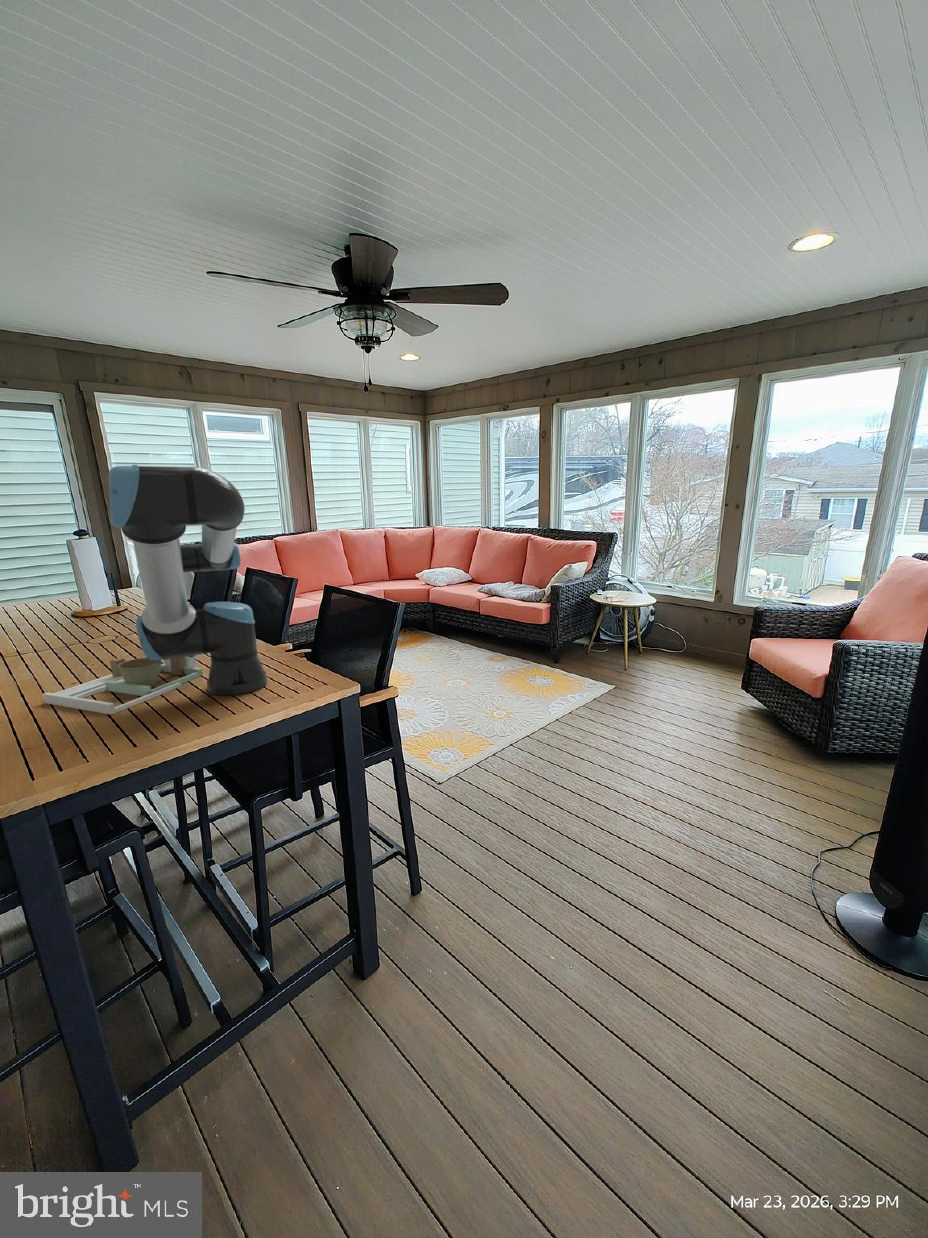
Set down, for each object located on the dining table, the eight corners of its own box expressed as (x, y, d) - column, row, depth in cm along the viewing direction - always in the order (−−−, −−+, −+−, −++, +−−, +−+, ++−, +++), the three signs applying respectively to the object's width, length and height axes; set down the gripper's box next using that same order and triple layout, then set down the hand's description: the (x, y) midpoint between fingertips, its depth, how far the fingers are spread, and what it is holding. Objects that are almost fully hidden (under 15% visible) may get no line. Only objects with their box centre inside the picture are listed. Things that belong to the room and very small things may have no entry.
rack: (181, 686, 140) (180, 677, 139) (111, 714, 122) (109, 704, 121) (114, 676, 148) (112, 668, 147) (39, 702, 130) (37, 693, 129)
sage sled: (205, 673, 150) (201, 641, 148) (147, 696, 132) (141, 660, 130) (167, 668, 155) (162, 637, 152) (106, 690, 137) (100, 655, 135)
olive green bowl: (144, 695, 133) (139, 669, 132) (113, 692, 136) (108, 667, 134) (173, 682, 143) (169, 658, 141) (143, 680, 145) (139, 656, 143)
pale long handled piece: (129, 678, 146) (126, 658, 145) (61, 702, 129) (57, 680, 128) (119, 677, 148) (116, 657, 146) (51, 700, 130) (46, 678, 129)
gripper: (208, 589, 145) (217, 665, 151) (153, 586, 152) (165, 659, 157) (186, 594, 138) (197, 673, 144) (130, 590, 145) (143, 666, 150)
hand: (180, 665), depth 150 cm, fingers closed on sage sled, 8 cm apart
